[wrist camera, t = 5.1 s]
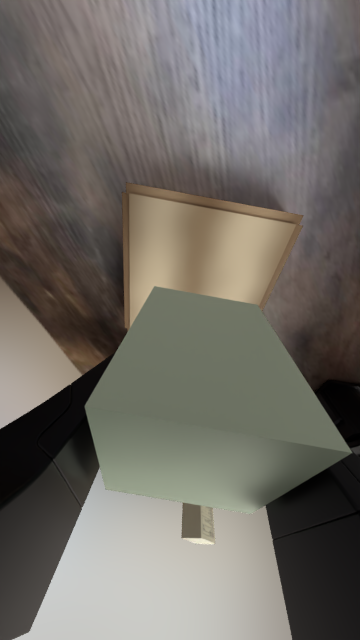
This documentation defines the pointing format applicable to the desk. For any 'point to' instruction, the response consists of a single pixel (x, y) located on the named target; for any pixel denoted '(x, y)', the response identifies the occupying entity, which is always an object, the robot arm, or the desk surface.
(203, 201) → the base slab
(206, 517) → the skincare box
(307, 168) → the desk surface
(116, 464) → the green block
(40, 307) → the desk surface
